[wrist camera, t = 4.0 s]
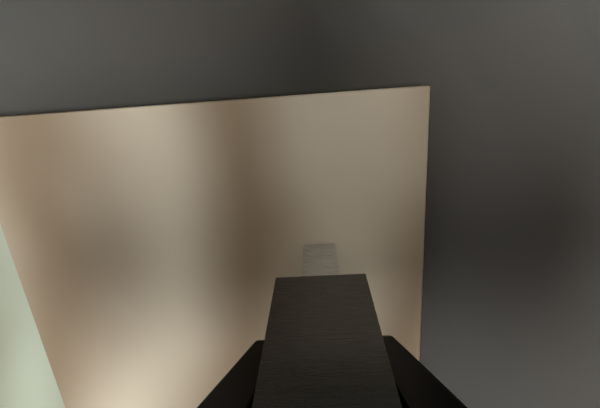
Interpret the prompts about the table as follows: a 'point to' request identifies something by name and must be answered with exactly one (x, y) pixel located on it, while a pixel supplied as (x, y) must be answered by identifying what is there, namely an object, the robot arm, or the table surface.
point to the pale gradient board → (195, 235)
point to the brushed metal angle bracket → (324, 341)
